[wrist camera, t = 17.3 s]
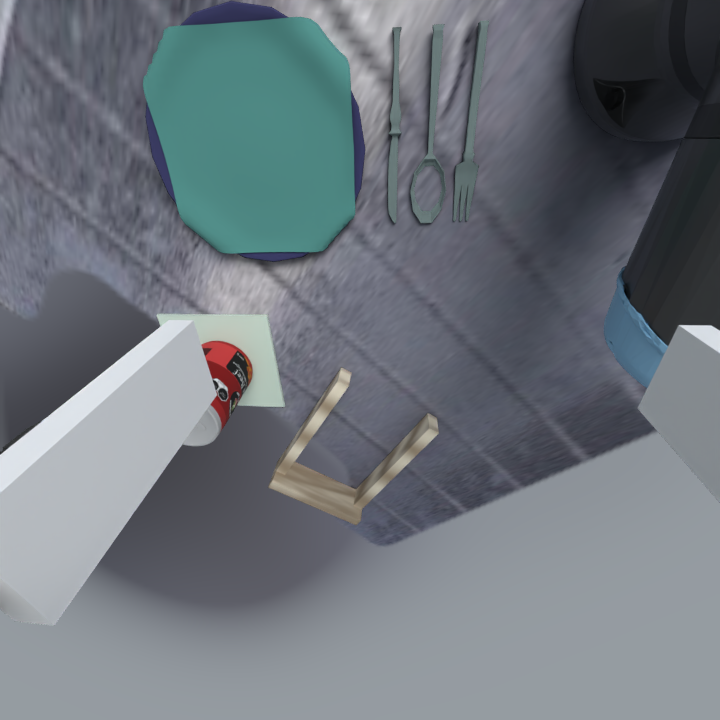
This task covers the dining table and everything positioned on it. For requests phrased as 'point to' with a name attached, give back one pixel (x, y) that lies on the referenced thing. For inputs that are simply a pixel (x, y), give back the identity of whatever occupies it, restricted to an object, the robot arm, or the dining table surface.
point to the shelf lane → (329, 491)
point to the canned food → (221, 389)
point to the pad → (249, 338)
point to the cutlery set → (275, 130)
